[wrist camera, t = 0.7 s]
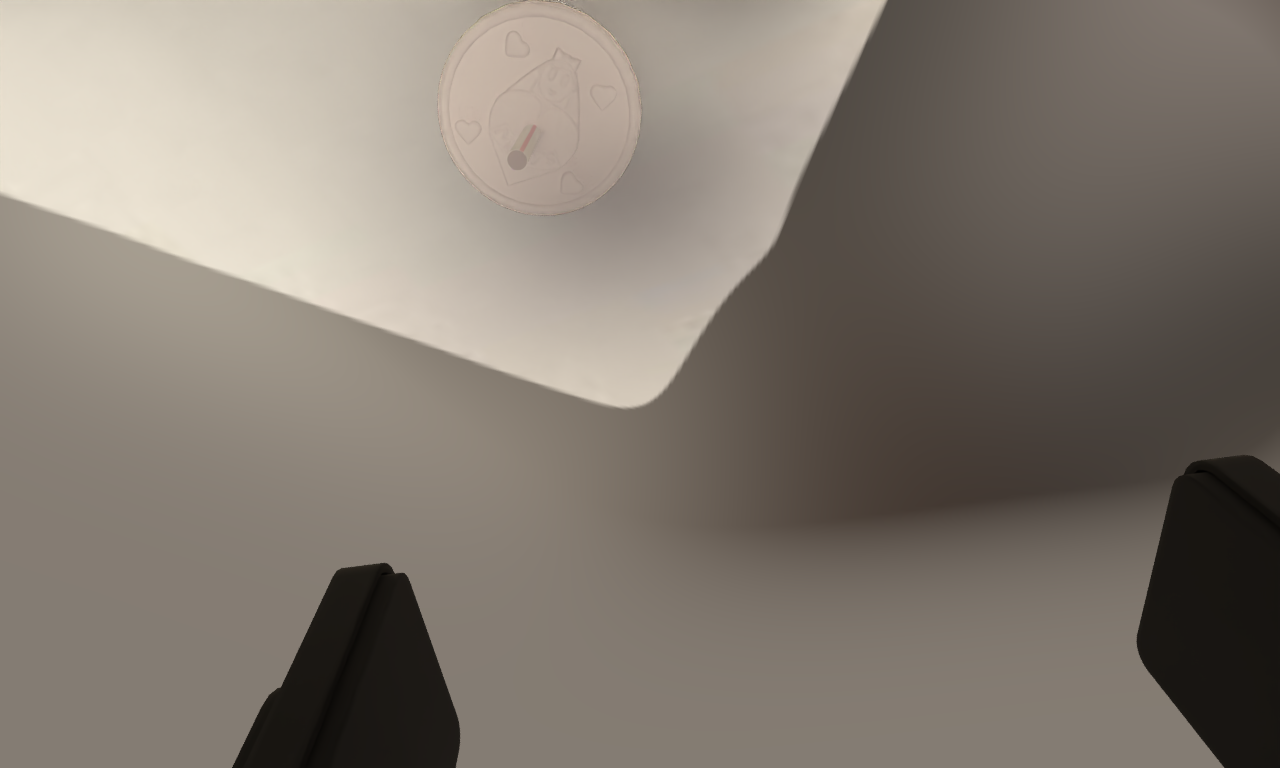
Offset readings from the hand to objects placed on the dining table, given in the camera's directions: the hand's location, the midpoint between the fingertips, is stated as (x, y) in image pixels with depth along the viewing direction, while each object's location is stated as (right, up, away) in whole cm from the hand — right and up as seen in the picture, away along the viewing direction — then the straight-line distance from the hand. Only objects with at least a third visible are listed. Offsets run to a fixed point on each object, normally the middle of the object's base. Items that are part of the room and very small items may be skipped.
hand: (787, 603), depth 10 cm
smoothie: (-5, +16, +23) cm, 28 cm away
